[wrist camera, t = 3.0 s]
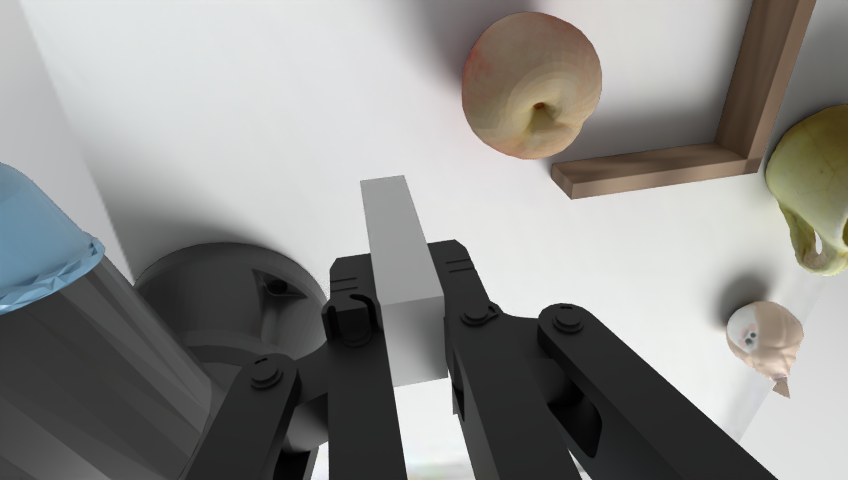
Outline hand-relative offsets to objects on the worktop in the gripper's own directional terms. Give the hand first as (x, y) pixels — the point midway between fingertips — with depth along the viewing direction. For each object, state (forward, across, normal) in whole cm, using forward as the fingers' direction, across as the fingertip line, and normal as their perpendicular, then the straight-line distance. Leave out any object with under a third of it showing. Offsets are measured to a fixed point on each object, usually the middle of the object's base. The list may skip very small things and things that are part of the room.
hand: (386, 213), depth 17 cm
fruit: (+17, +10, 0) cm, 19 cm away
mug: (+17, +36, -11) cm, 41 cm away
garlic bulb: (+17, +36, -27) cm, 48 cm away
